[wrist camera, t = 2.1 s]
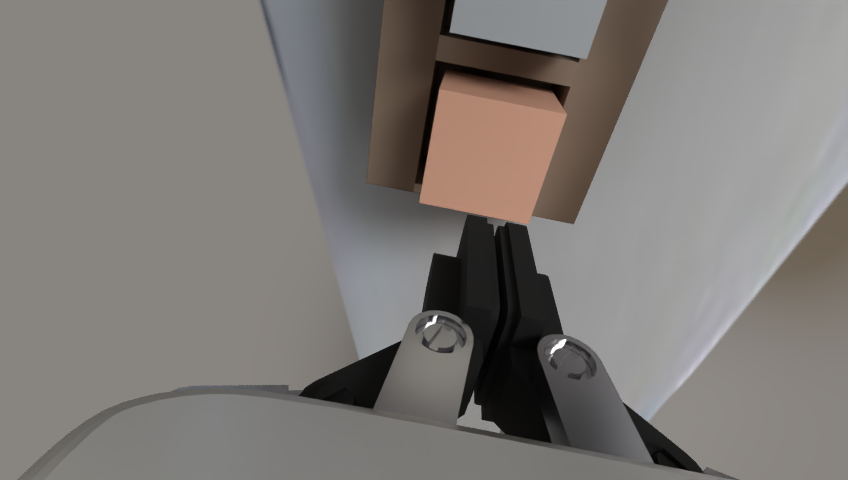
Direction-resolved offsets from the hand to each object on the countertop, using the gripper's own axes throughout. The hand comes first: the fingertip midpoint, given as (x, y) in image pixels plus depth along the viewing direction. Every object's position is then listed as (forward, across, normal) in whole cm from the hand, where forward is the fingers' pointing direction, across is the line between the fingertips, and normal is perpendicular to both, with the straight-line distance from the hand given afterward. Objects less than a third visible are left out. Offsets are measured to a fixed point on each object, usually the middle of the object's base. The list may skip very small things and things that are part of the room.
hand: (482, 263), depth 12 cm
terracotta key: (+11, 0, -1) cm, 11 cm away
